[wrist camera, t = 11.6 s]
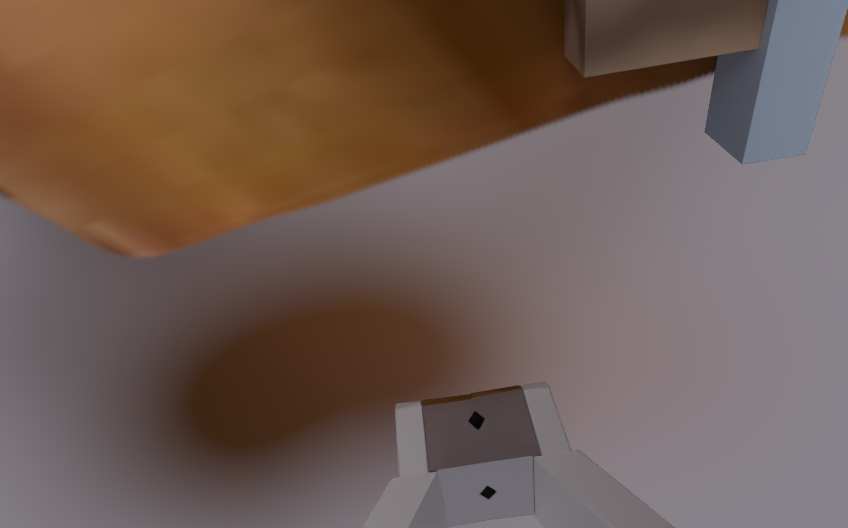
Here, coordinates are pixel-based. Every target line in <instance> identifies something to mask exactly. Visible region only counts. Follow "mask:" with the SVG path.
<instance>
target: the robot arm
mask: <svg viewBox="0 0 848 528" xmlns="http://www.w3.org/2000/svg"><path fill="white" fill-rule="evenodd" d="M395 416H396V433H397V451H398V469H399V477H396V478H391V480H390V482H389V483H388V485H387V487H386V489H385V490H384V492H383V494H382V495H381V497H380V499H379V500H378V502H377V504H376V505H375V507H374V509H373V510H372V512H371V514H370V516H369V517H368V519H367V521H366V522H365V524H364V526H363V527H362V528H448V527H452V526H457V525H463V524H469V523H474V522H480V521H485V520H491V519H500V518H508V517H516V516H524V515H532V514H535V517H536V518H537V519H538V520H539V521H540V522H541V523H542V524H543V526H544V527H545V528H675V527H673V526H672V525H671V524H670V523H668V522H667V521H666V520H665V519H663V518H662V517H661V516H660V515H659V514H657V513H656V512H655V511H654V510H652V509H651V508H650V507H649V506H647V505H646V504H645V503H644V502H643V501H641V500H640V499H639V498H638V497H636V496H635V495H634V494H633V493H631V492H630V491H629V490H628V489H627V488H625V487H624V486H623V485H622V484H620V483H619V482H618V481H617V480H615V479H614V478H613V477H612V476H610V475H609V474H608V473H607V472H606V471H604V470H603V469H602V468H601V467H599V466H598V465H597V464H595V463H594V462H593V461H592V460H591V459H590V458H588V457H587V456H586V455H585V454H583V453H582V452H581V451H580V450H576V451H571V448H570V446H569V442H568V439H567V437H566V434H565V431H564V428H563V425H562V422H561V419H560V416H559V413H558V411H557V407H556V405H555V402H554V399H553V396H552V393H551V390H550V387H549V385H548V384H547V383H546V382H540V383H534V384H528V385H521V386H512V387H506V388H500V389H493V390H488V391H482V392H476V393H471V394H468V395H460V396H452V397H444V398H436V399H429V400H422V401H414V402H407V403H400V404H396V410H395Z"/></svg>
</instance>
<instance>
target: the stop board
mask: <svg viewBox="0 0 848 528" xmlns="http://www.w3.org/2000/svg"><path fill="white" fill-rule="evenodd" d="M847 8H848V0H768V4H767V9H766V15H765V20H764V25H763V30H762V35H761V40H760V45H759V48H758V49H753V50H747V51H741V52H735V53H729V54H723V55H718V58H717V63H716V69H715V75H714V81H713V87H712V93H711V99H710V104H709V110H708V116H707V122H706V128H705V133H707V134H708V135H709V136H710V137H711V138H712V139H714V140H715V141H716V142H717V143H718V144H719V145H720V146H722V147H723V148H724V149H725V150H726V151H727V152H729V153H730V154H731V155H732V156H733V157H734V158H736V159H737V160H738V161H739V162H740V163H741V164H747V163H754V162H760V161H767V160H773V159H780V158H786V157H793V156H800V155H805V154H806V151H807V147H808V144H809V140H810V137H811V134H812V130H813V127H814V123H815V119H816V116H817V113H818V109H819V106H820V102H821V99H822V95H823V91H824V88H825V85H826V81H827V78H828V74H829V71H830V67H831V64H832V60H833V57H834V54H835V50H836V47H837V43H838V40H839V36H840V33H841V29H842V26H843V22H844V19H845V15H846V12H847Z"/></svg>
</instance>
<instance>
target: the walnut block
mask: <svg viewBox="0 0 848 528" xmlns="http://www.w3.org/2000/svg"><path fill="white" fill-rule="evenodd" d="M767 4H768V0H564V56H565V57H566V58H567V59H568V60H569V61H570V63H571V64H572V65H573V66H574V67H575V68H576V69H577V70H578V71H579V72H580V74H581V75H582V76H583V77H584V78H586V77H592V76H598V75H604V74H610V73H616V72H622V71H627V70H633V69H639V68H645V67H651V66H657V65H663V64H669V63H675V62H681V61H687V60H693V59H699V58H705V57H711V56H717V55H723V54H729V53H735V52H741V51H747V50H753V49H758V48H759V45H760V40H761V35H762V30H763V25H764V20H765V15H766V9H767Z"/></svg>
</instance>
